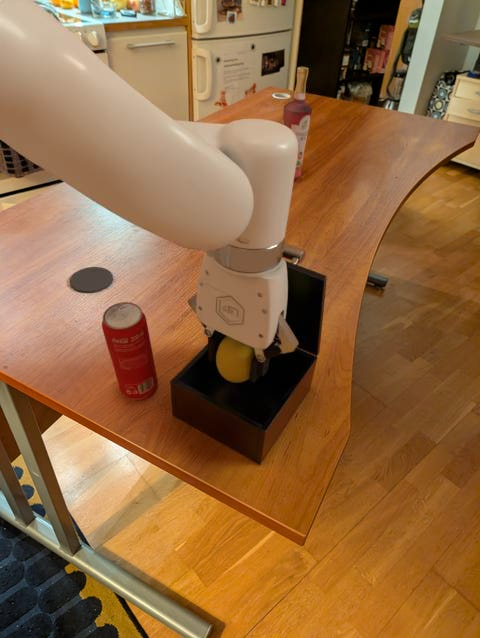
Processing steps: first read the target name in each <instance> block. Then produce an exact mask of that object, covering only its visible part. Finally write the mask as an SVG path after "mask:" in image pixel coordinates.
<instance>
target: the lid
mask: <svg viewBox="0 0 480 638" xmlns="http://www.w3.org/2000/svg"><path fill="white" fill-rule="evenodd" d="M306 254H307V251H306V250H305V249H304V248H300V247H298V246H294V245H292V244H289V243H286V242H284V248H283V254H282V259H286V260H285V261H286V266H287V276H288V298H287V309H286V318H285V320H286V322H287V324H288V325H289V327H290V329H291V330H292V332H293V334H294V335H295V337H296V339H297V340H298V342H299V345H298V346H297V348H299V349H301V350H304V351H306V352H308V353H310V354H312V355H315V356H317V357H318V356H319V354H320V351H321V341H322V331H323V321H324V312H325V302H326V301H325V300H326V290H327V282H328V281H327V280H328V276H327V275H326V274H322V273H320V272H317V271H314V270H311V269H310V268H306V267H303V266H301V265H300V264H302V263H303V262H304V260H305V258H306ZM287 260H288V261H287ZM298 264H299V265H298ZM274 338H277V339H279V337H278V336H277V334H276V333H275V336H274ZM279 340H280V339H279Z"/></svg>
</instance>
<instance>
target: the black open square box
mask: <svg viewBox="0 0 480 638" xmlns="http://www.w3.org/2000/svg"><path fill="white" fill-rule="evenodd" d="M226 336H227V335H226ZM278 340H279V339H277V338H275V337H274V342H275V341H278ZM208 355H209V350H208V343H207V344H205V346H203V348H201V350H200V351H199V352H198V353H197V354H196V355H195V356H194V357H193V358H192V359H191V360H190V361H189V362H188V363H187V364H186V365H185V366H184V367H183V368H182V369H181V370H180V371H179V372H178V373H177V374H175V376H174V377H173V378H171V380H170V382H169V385H170V387H169V388H170V398H171V399H170V400H171V413H172V416H173V417H175V418H176V419H178V420H180V421H182V422H184V423H186V424H187V425H189V426H191V427H193V428H195V430H198V431H200V432H202V433H204V434H205V435H206V436H208V437H210V438H211V439H213V440H216V441H217V442H219V443H220V444H222V445H224V446H226V447H228V448H229V449H231V450H233V451H235V452H237V453H238V454H240V455H242V456H243V457H245V458H247V459H248V460H251V461H252V462H254V463H256V464H258V465H259V466H261V465H262V463H263V462H264V460H265V459H266V458H267V456H268V454H269V453H270V452H271V450H272V448H273V447H274V446H275V444H276V442H277V441H278V439H279V438H280V436H281V435H282V434H283V432H284V430H285V429H286V427H287V426H288V425H289V423H290V421H291V420H292V418H293V417H294V415H295V413H296V412H297V411H298V409H299V408H300V406H301V405H302V403H303V401H304V400H305V398H306V397H307V395H308V394H309V392H310V391H311V387H312V383H313V380H314V374H315V370H316V367H317V361H318V356H315V355H313V354H311V353H309V352H306V351H304V350H302V349H300V348H297V347H296V349H295V350H294V351H293V352H289V353H285V354H283V353H282V354H279V355H278V356H276V357H272V358H270V359H269V366H268V370H267V372H266V373H265V374H264V376H261V375H260V376H259V377H258V378H257V380H256V381H255V382H254V383H253V382H251V381H250V379H248V380H246V381H244V382H239V383H234V382H230V381H228V380H226V379H225V378H224V377H223V376H222V375H221V374H220V372H219V370H218V368H217V364H216V360H215V361H210V360H208Z"/></svg>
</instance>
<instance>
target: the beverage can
mask: <svg viewBox="0 0 480 638" xmlns="http://www.w3.org/2000/svg"><path fill="white" fill-rule="evenodd" d="M148 326H149V325H148V321H147V317H146V314H145V313H144V312H143V311H142V309H141V306H139V305H138V304H136V303H134V302H131V301H130V302H129V301H123V302H122V301H121V302H117V303H113V304H112V305H110V306H109V307H108V308H106V309H105V311H104V312H103V315H102V321H101V328H102V329H101V330H102V333H103V336H104V339H105V343H106V347H107V351H108V354H109V357H110V361H111V364H112V368H113V371H114V375H115V379H116V382H117V386H118V389H119V392H120V393H121V395H123V397H125V398H127V399H129V400H135V401H136V400H142V399H146V398H148V397H149V396H151V395H152V393H154V392H155V390H156V389H157V387H158V375H157V369H156V364H155V359H154V353H153V348H152V343H151V336H150V332H149V331H150V330H149V327H148Z"/></svg>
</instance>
